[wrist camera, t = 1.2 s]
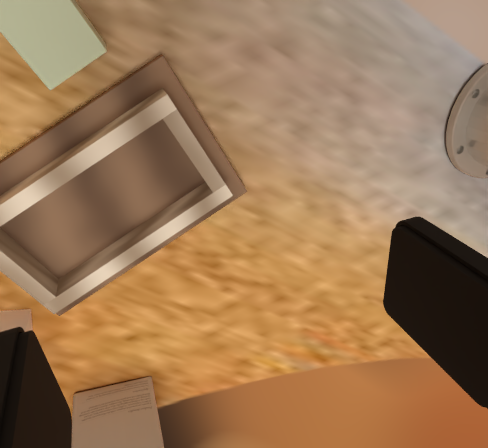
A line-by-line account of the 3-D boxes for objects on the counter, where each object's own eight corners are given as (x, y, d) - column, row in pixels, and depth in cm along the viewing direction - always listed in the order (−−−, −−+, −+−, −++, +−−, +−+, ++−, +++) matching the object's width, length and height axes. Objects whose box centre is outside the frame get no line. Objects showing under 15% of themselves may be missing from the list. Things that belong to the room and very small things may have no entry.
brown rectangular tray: (161, 54, 30) (167, 59, 27) (243, 187, 37) (256, 202, 34) (-66, 205, 30) (-85, 226, 27) (60, 309, 37) (56, 335, 34)
